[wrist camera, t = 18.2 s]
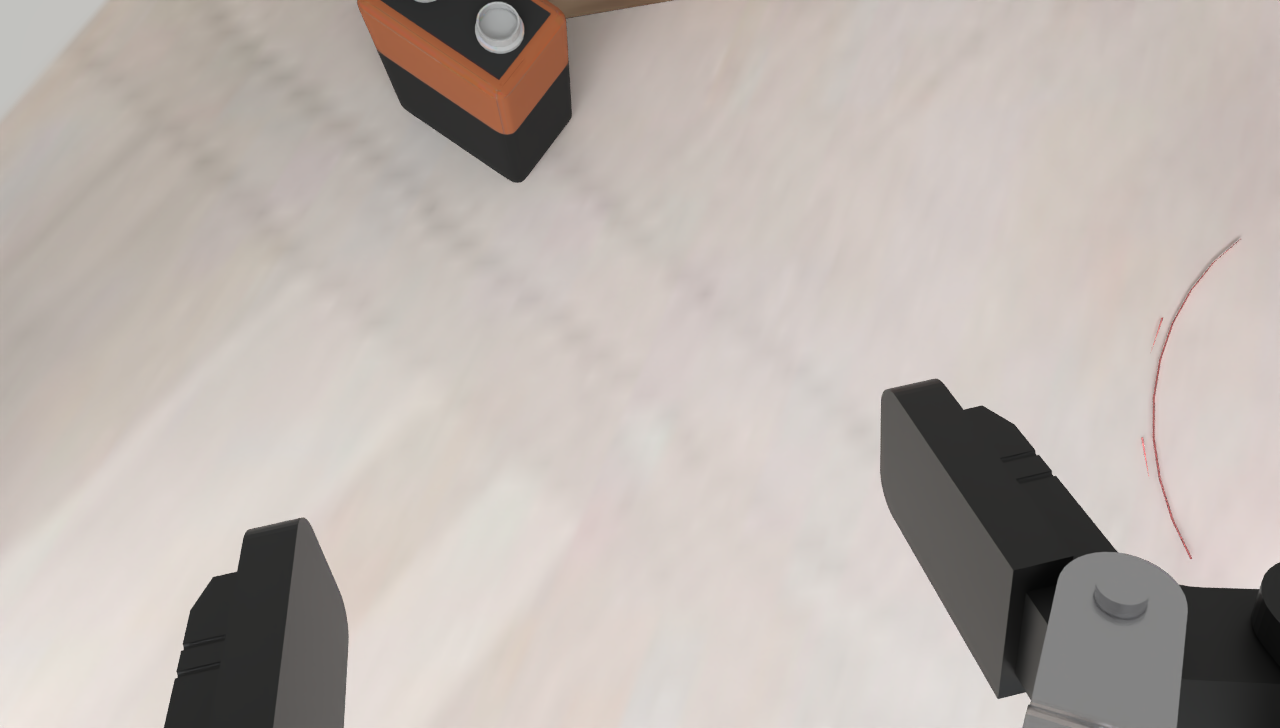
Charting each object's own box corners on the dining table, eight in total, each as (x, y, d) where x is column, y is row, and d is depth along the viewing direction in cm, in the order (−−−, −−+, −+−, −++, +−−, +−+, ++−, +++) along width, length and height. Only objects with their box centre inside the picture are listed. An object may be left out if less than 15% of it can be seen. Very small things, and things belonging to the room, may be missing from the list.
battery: (455, 34, 47) (417, -104, 37) (576, 115, 46) (570, -2, 37) (396, 106, 46) (342, -14, 36) (520, 190, 46) (498, 91, 36)
